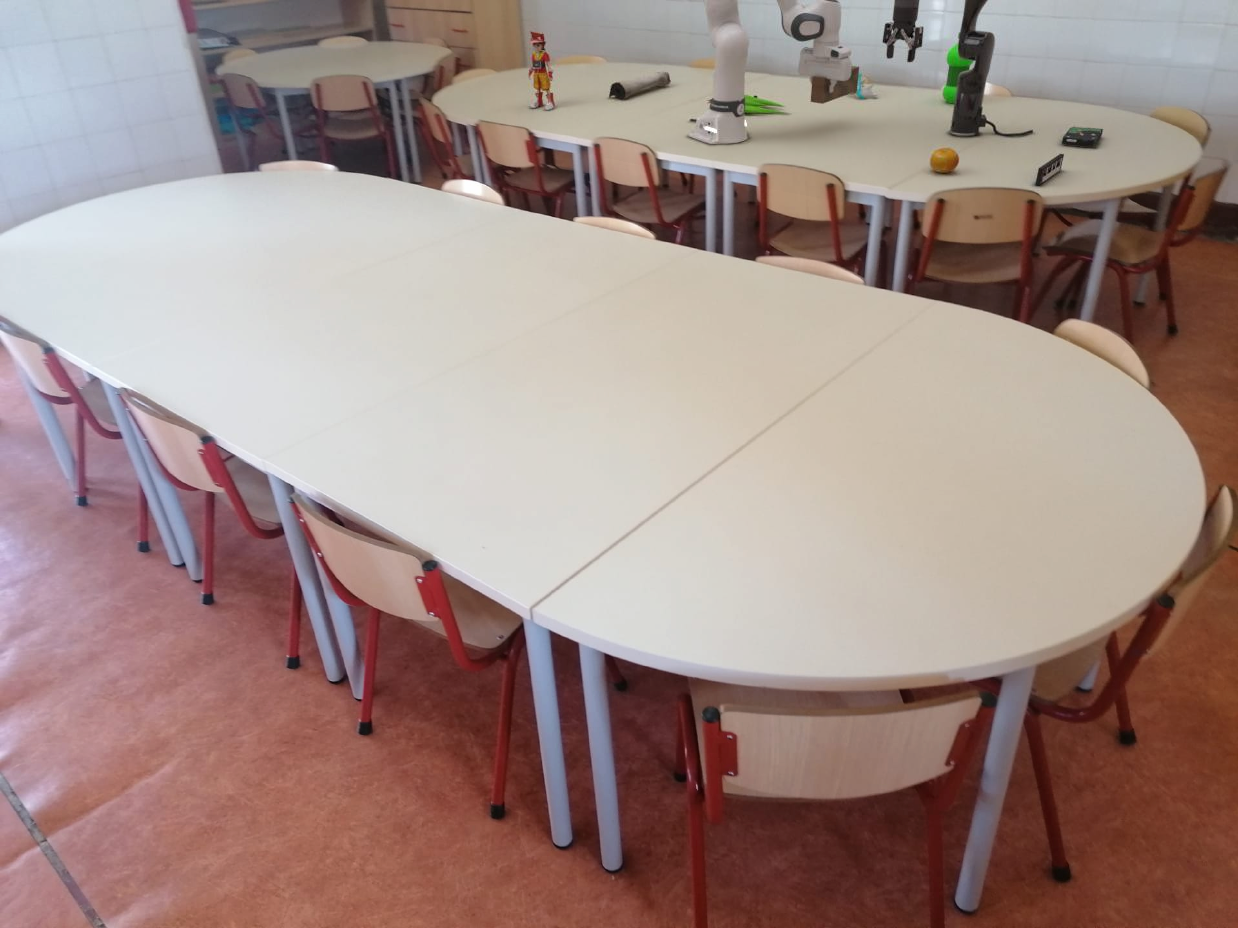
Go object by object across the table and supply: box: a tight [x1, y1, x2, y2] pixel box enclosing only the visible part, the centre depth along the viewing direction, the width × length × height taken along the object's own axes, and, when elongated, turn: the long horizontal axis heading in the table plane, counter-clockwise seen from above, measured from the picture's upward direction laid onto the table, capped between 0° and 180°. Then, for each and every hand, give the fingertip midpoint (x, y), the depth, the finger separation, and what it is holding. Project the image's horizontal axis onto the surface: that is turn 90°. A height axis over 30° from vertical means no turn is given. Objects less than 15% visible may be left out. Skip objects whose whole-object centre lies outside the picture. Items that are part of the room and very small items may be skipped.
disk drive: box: [1061, 126, 1104, 148], centre depth 303 cm, size 10×3×15 cm
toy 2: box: [744, 94, 786, 114], centre depth 359 cm, size 28×5×30 cm
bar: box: [810, 65, 860, 105], centre depth 326 cm, size 22×5×8 cm, turn 135°
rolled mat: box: [608, 71, 672, 101], centre depth 395 cm, size 30×9×10 cm
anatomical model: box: [855, 72, 878, 100], centre depth 369 cm, size 15×10×10 cm
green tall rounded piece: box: [942, 31, 974, 104], centre depth 348 cm, size 10×10×25 cm
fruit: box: [929, 147, 960, 174], centre depth 283 cm, size 8×8×8 cm
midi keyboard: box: [1035, 153, 1065, 186], centre depth 273 cm, size 18×1×5 cm, turn 138°
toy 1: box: [527, 31, 556, 111], centre depth 374 cm, size 12×9×30 cm
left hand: (822, 91), depth 322 cm, fingers closed on bar, 5 cm apart
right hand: (899, 60), depth 290 cm, fingers open, 8 cm apart
